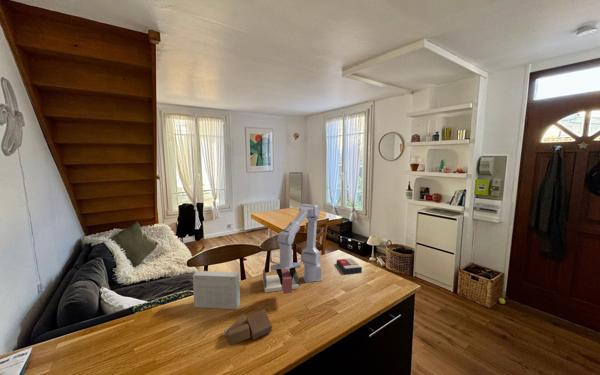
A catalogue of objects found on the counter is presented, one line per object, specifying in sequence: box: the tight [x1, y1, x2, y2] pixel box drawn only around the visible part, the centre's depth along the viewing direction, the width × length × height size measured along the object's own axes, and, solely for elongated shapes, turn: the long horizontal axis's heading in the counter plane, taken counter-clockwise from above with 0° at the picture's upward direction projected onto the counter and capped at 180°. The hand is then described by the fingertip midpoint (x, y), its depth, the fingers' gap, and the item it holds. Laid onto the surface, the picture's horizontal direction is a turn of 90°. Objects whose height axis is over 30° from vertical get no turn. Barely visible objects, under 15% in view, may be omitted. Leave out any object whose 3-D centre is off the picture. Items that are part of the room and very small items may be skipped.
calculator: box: [336, 258, 363, 275], centre depth 157 cm, size 11×4×15 cm
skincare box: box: [192, 270, 241, 310], centre depth 117 cm, size 21×5×16 cm, turn 84°
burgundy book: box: [281, 269, 293, 294], centre depth 121 cm, size 4×10×7 cm, turn 13°
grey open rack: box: [262, 269, 300, 293], centre depth 137 cm, size 18×14×6 cm
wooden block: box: [224, 308, 273, 346], centre depth 100 cm, size 8×13×18 cm
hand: (285, 282), depth 121 cm, fingers closed on burgundy book, 4 cm apart
